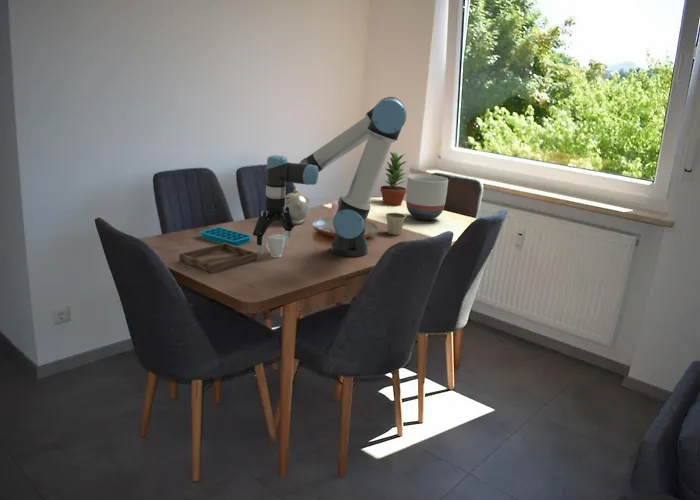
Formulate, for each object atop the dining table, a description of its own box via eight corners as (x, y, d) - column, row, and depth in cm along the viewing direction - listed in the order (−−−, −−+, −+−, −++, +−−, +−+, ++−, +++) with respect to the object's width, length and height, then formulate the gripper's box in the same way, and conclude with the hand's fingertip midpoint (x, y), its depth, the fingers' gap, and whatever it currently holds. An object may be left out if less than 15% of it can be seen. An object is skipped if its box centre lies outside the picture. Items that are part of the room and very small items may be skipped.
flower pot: (393, 237, 271) (395, 218, 269) (379, 231, 278) (381, 213, 275) (408, 234, 277) (410, 216, 274) (394, 229, 284) (396, 211, 281)
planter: (403, 212, 317) (406, 172, 311) (441, 215, 317) (446, 175, 310) (404, 222, 298) (408, 180, 291) (445, 225, 297) (450, 183, 291)
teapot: (296, 228, 274) (297, 193, 269) (273, 222, 281) (274, 188, 276) (319, 221, 289) (321, 188, 284) (297, 216, 296) (298, 183, 291)
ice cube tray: (218, 233, 260) (218, 226, 259) (253, 242, 250) (253, 236, 249) (198, 238, 250) (198, 231, 249) (234, 249, 240) (234, 241, 239)
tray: (257, 260, 227) (257, 253, 226) (211, 274, 210) (211, 266, 209) (225, 249, 237) (225, 242, 237) (179, 261, 221) (179, 253, 220)
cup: (274, 259, 230) (275, 239, 227) (258, 253, 236) (259, 233, 234) (288, 256, 235) (289, 236, 232) (272, 250, 241) (273, 230, 239)
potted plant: (411, 205, 334) (416, 152, 325) (388, 207, 327) (393, 152, 318) (396, 199, 346) (400, 148, 337) (374, 201, 339) (378, 148, 330)
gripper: (290, 190, 240) (287, 241, 247) (244, 198, 221) (242, 253, 227) (304, 194, 236) (301, 245, 242) (258, 202, 217) (256, 258, 223)
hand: (273, 249), depth 235 cm, fingers open, 13 cm apart
